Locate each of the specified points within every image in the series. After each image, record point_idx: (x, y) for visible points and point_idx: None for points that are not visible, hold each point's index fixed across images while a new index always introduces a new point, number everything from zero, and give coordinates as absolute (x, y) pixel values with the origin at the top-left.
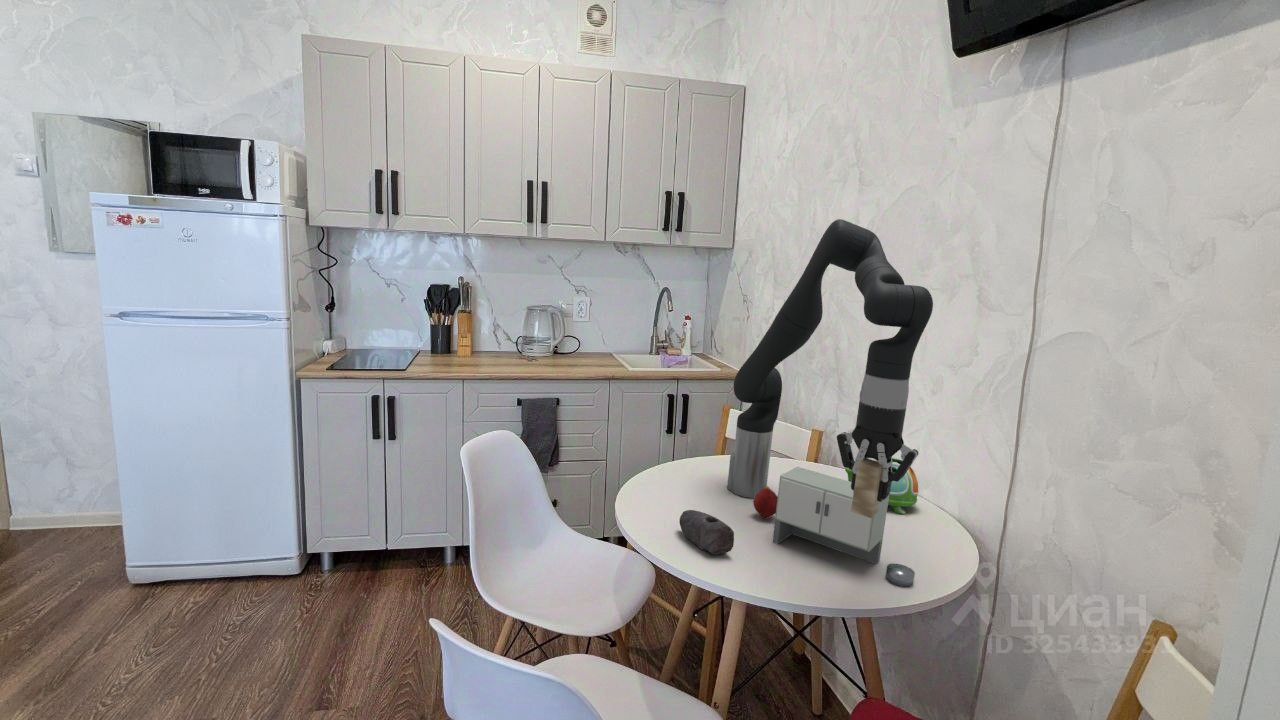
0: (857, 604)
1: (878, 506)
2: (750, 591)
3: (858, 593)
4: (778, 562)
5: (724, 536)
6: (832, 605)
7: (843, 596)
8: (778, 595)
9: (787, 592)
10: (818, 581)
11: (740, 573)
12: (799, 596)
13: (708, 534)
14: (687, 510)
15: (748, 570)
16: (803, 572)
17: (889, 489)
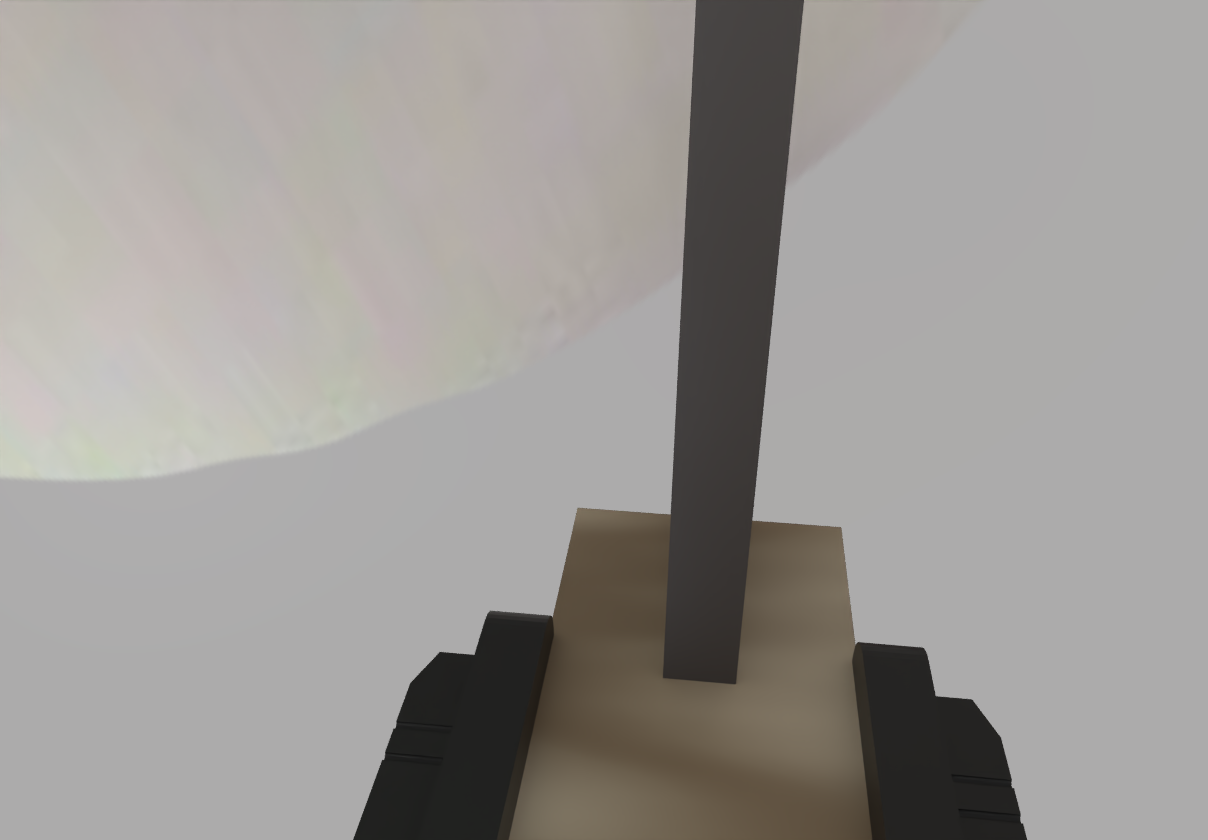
0: None
1: (847, 582)
2: (265, 445)
3: None
4: (140, 13)
5: None
6: (646, 291)
7: (662, 143)
8: (381, 389)
9: (397, 331)
10: (461, 70)
11: (108, 320)
12: (465, 326)
13: None
14: None
15: (108, 258)
16: (330, 22)
17: (1021, 824)
